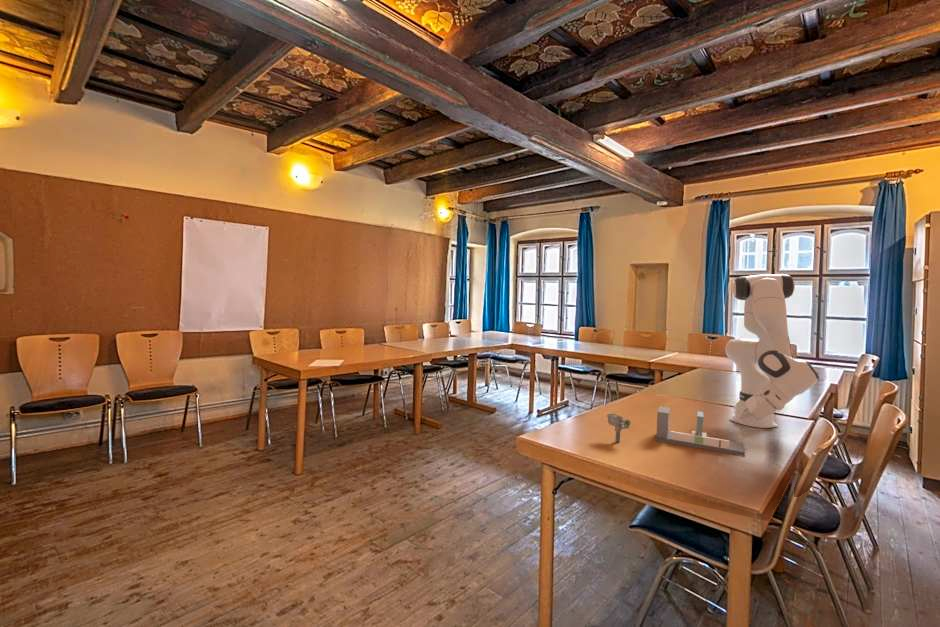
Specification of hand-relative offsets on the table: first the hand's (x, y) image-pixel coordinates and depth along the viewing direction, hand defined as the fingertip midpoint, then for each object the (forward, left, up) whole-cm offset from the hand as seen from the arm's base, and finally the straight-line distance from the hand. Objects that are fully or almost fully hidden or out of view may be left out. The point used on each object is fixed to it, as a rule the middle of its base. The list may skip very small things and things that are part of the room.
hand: (740, 417), depth 165 cm
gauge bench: (+1, -13, -12) cm, 18 cm away
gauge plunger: (+2, -13, -11) cm, 17 cm away
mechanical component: (+17, -41, -13) cm, 46 cm away
